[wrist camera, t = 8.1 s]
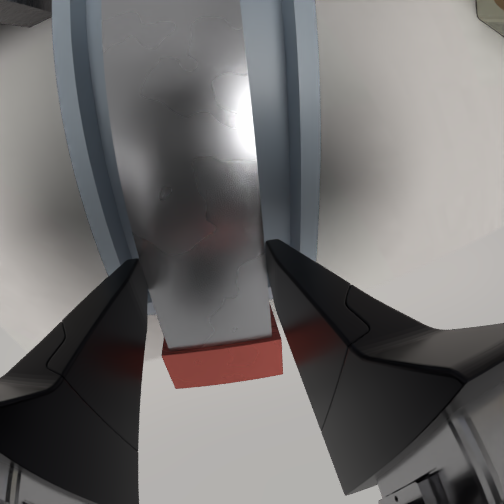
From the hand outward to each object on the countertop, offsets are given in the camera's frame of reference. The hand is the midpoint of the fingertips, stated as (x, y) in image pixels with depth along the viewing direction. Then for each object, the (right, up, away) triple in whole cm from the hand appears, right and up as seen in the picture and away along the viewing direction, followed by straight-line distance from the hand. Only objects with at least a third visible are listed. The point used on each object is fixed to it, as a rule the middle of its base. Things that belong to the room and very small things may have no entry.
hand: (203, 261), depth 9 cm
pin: (-1, +3, +2) cm, 4 cm away
